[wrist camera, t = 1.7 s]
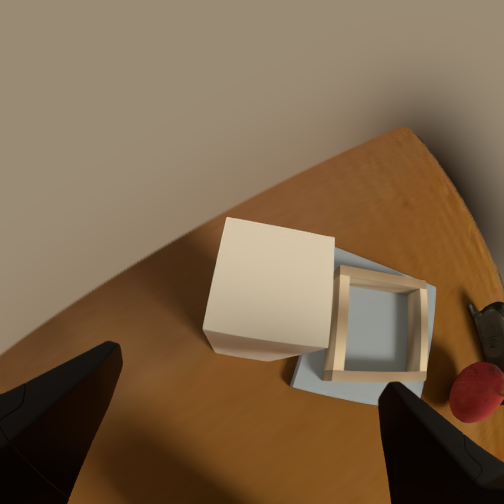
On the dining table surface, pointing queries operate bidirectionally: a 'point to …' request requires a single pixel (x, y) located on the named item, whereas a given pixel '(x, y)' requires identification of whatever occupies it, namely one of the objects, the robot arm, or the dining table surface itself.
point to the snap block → (270, 292)
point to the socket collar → (339, 324)
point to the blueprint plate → (367, 339)
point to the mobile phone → (491, 332)
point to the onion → (477, 392)
